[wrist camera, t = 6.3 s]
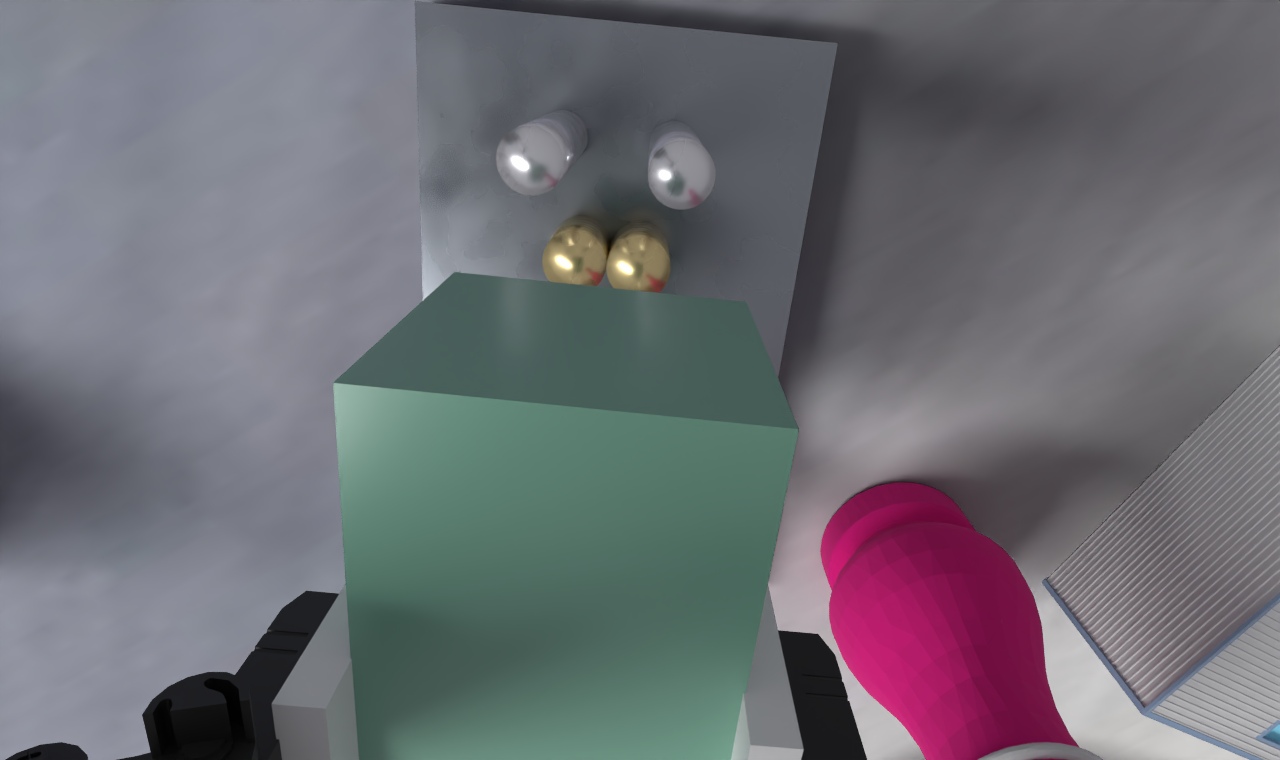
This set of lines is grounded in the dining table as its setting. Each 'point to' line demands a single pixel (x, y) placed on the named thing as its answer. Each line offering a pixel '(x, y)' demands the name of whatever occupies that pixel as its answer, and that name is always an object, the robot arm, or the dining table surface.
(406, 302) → the dining table surface
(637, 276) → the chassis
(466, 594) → the mint green rectangular block
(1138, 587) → the warehouse
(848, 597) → the pepper mill
